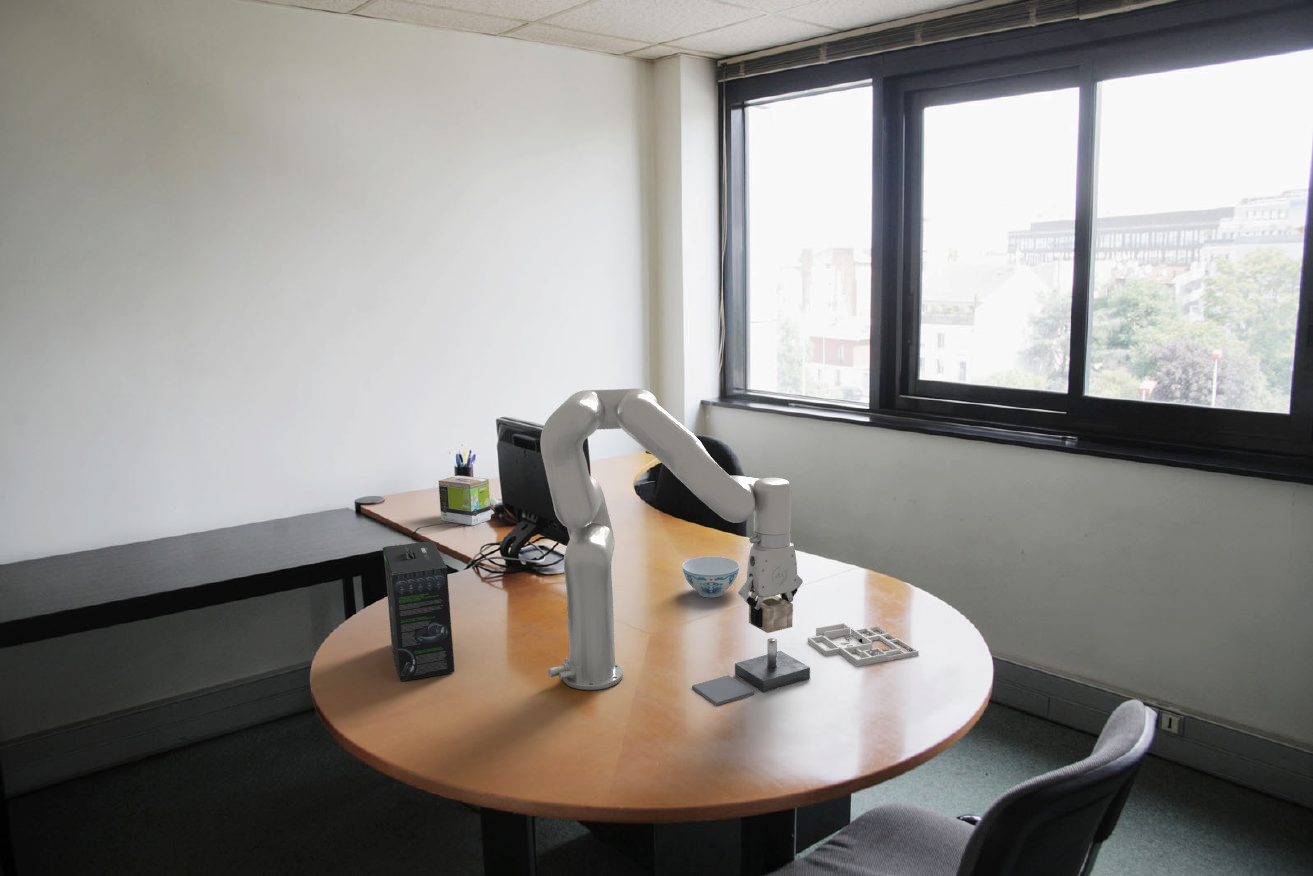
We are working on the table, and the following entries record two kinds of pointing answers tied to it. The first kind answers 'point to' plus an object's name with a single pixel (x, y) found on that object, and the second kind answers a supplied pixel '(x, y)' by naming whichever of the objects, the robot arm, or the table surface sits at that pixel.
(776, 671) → the post stand
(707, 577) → the chinaware
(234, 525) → the table surface
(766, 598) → the collar
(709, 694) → the mat
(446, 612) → the headset box
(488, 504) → the tea box
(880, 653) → the floor plan model
